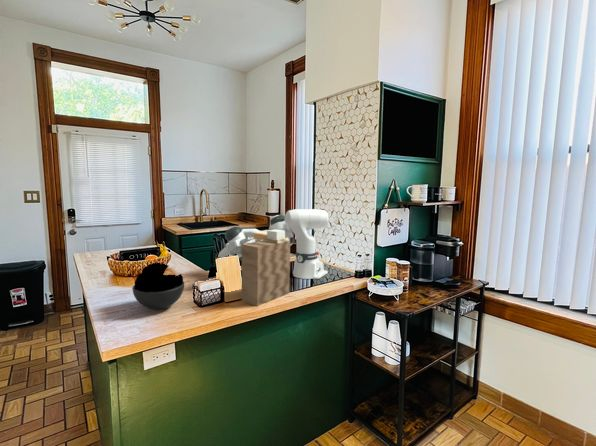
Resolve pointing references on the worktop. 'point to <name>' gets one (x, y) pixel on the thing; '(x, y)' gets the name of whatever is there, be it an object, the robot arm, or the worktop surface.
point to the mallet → (271, 234)
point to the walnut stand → (265, 270)
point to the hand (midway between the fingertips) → (256, 237)
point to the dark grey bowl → (157, 287)
